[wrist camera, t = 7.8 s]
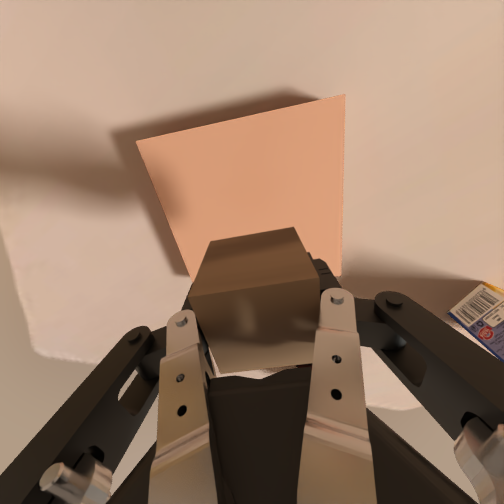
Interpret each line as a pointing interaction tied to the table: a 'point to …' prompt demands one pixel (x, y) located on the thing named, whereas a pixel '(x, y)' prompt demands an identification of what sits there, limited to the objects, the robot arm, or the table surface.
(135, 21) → the table surface
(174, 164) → the terracotta base
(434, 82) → the table surface
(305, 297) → the walnut cube
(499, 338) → the beverage box
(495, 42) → the table surface
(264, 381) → the robot arm
